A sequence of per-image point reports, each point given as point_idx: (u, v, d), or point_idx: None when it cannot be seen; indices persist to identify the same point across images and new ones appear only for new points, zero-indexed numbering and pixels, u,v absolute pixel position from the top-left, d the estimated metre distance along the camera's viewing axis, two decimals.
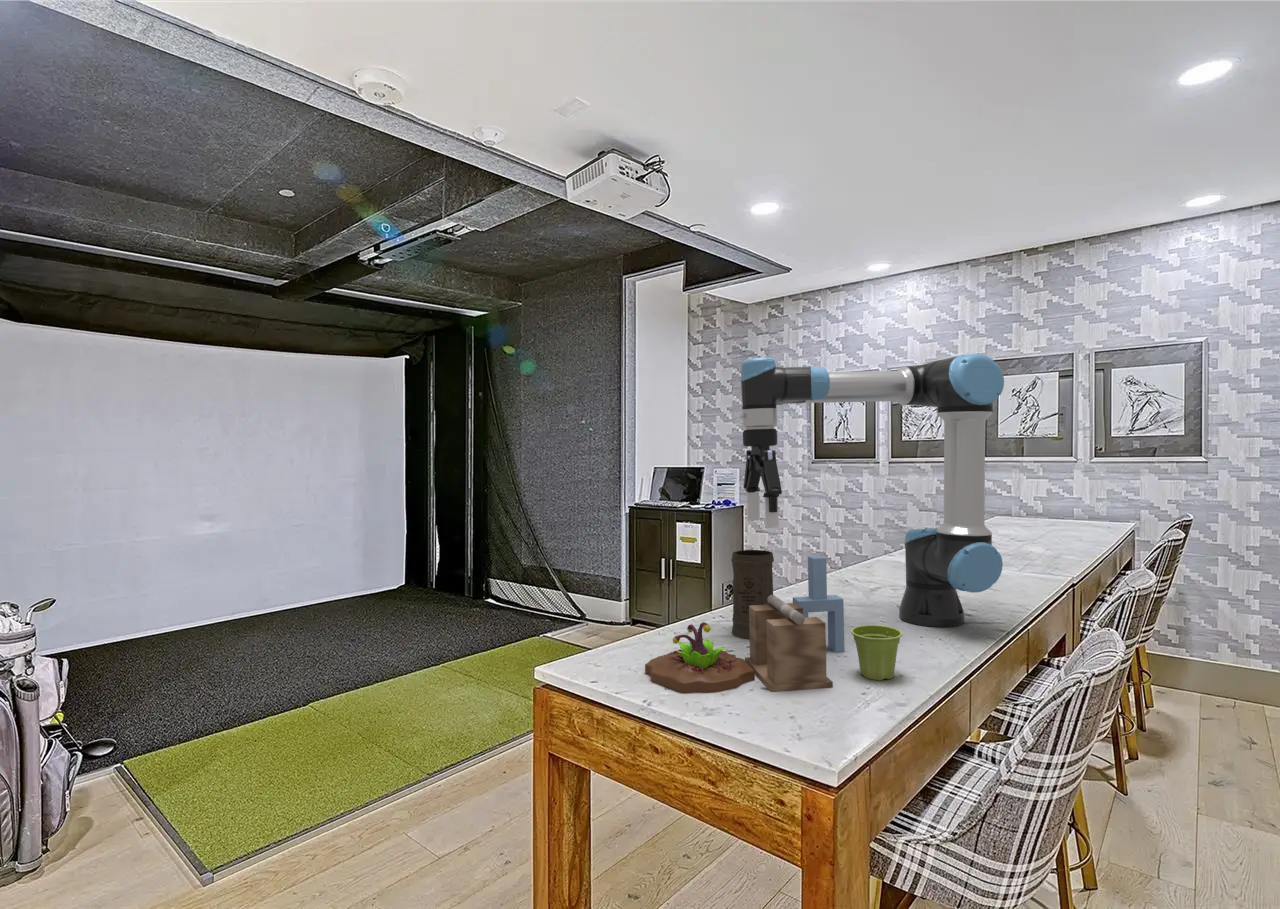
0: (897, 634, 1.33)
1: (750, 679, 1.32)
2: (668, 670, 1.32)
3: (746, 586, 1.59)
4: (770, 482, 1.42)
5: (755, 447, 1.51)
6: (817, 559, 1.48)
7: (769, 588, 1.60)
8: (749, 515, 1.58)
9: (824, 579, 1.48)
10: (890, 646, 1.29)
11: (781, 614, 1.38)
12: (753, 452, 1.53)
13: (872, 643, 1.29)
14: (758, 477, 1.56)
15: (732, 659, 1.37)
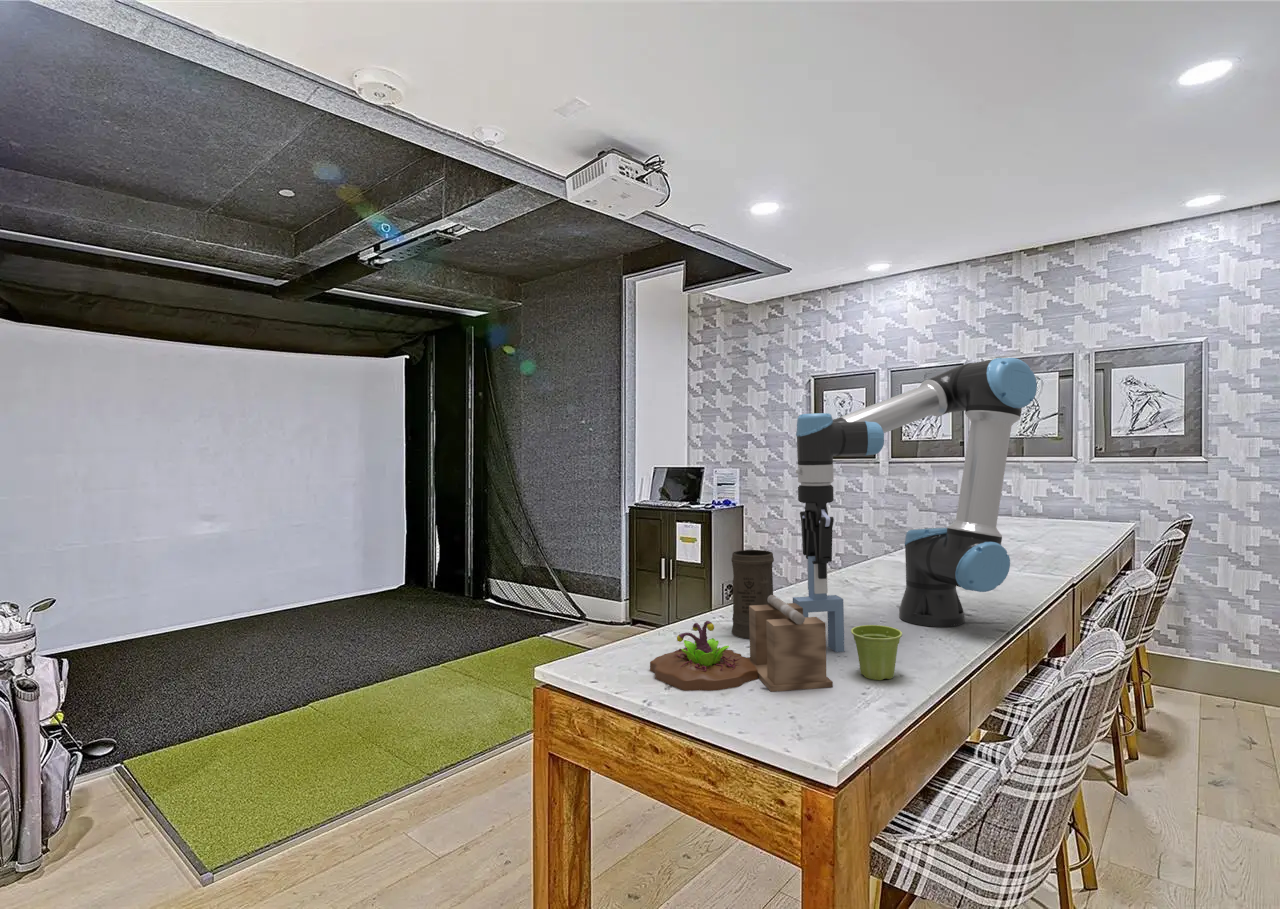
0: (897, 634, 1.33)
1: (753, 678, 1.32)
2: (672, 668, 1.34)
3: (746, 586, 1.59)
4: (822, 551, 1.44)
5: (811, 503, 1.49)
6: None
7: (769, 588, 1.60)
8: None
9: None
10: (890, 646, 1.29)
11: (781, 614, 1.38)
12: (808, 508, 1.50)
13: (872, 643, 1.29)
14: None
15: (736, 658, 1.38)
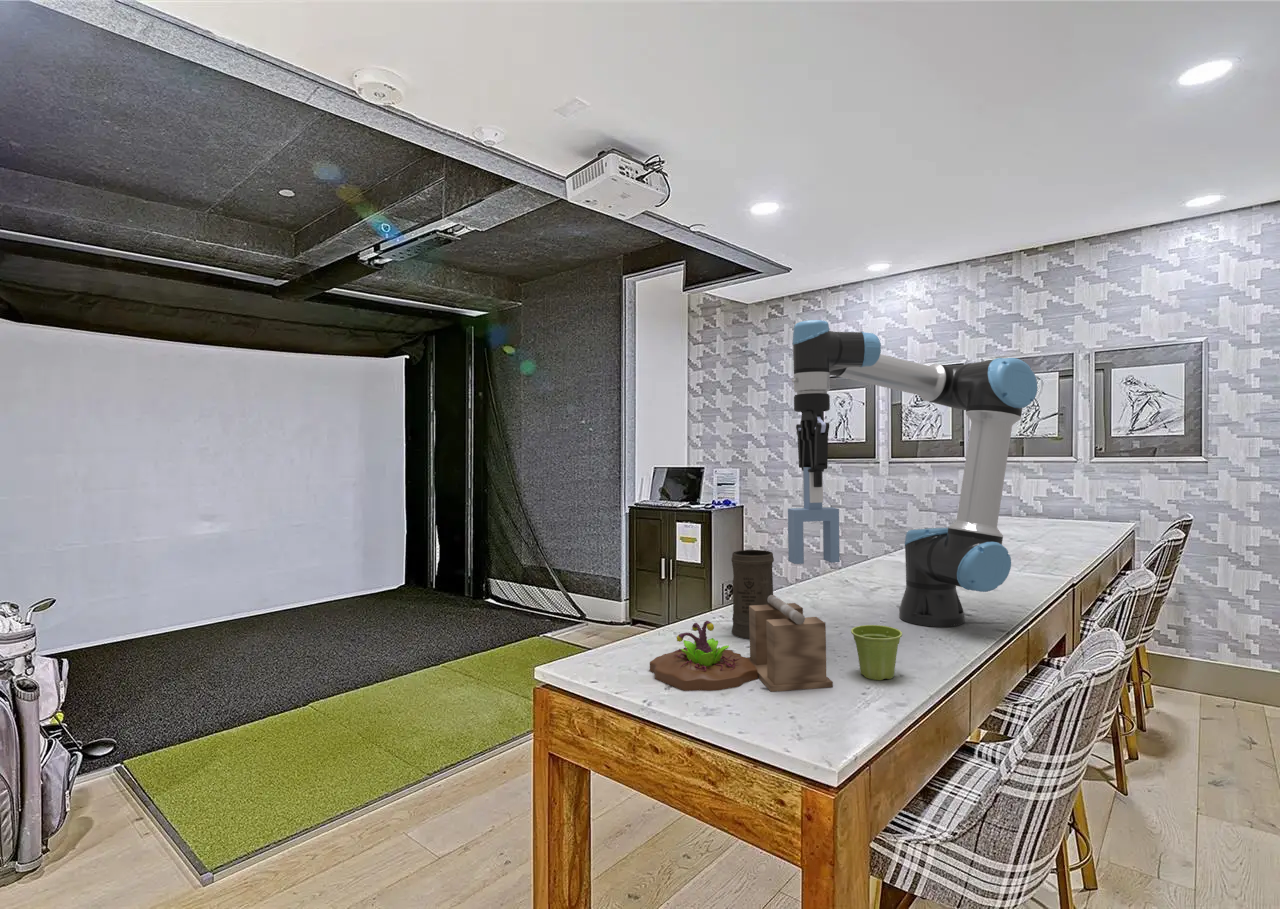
0: (897, 634, 1.33)
1: (753, 678, 1.32)
2: (671, 668, 1.34)
3: (746, 586, 1.59)
4: (817, 457, 1.42)
5: (807, 412, 1.47)
6: None
7: (769, 588, 1.60)
8: None
9: None
10: (890, 646, 1.29)
11: (781, 614, 1.38)
12: (804, 418, 1.49)
13: (872, 643, 1.29)
14: None
15: (736, 658, 1.38)
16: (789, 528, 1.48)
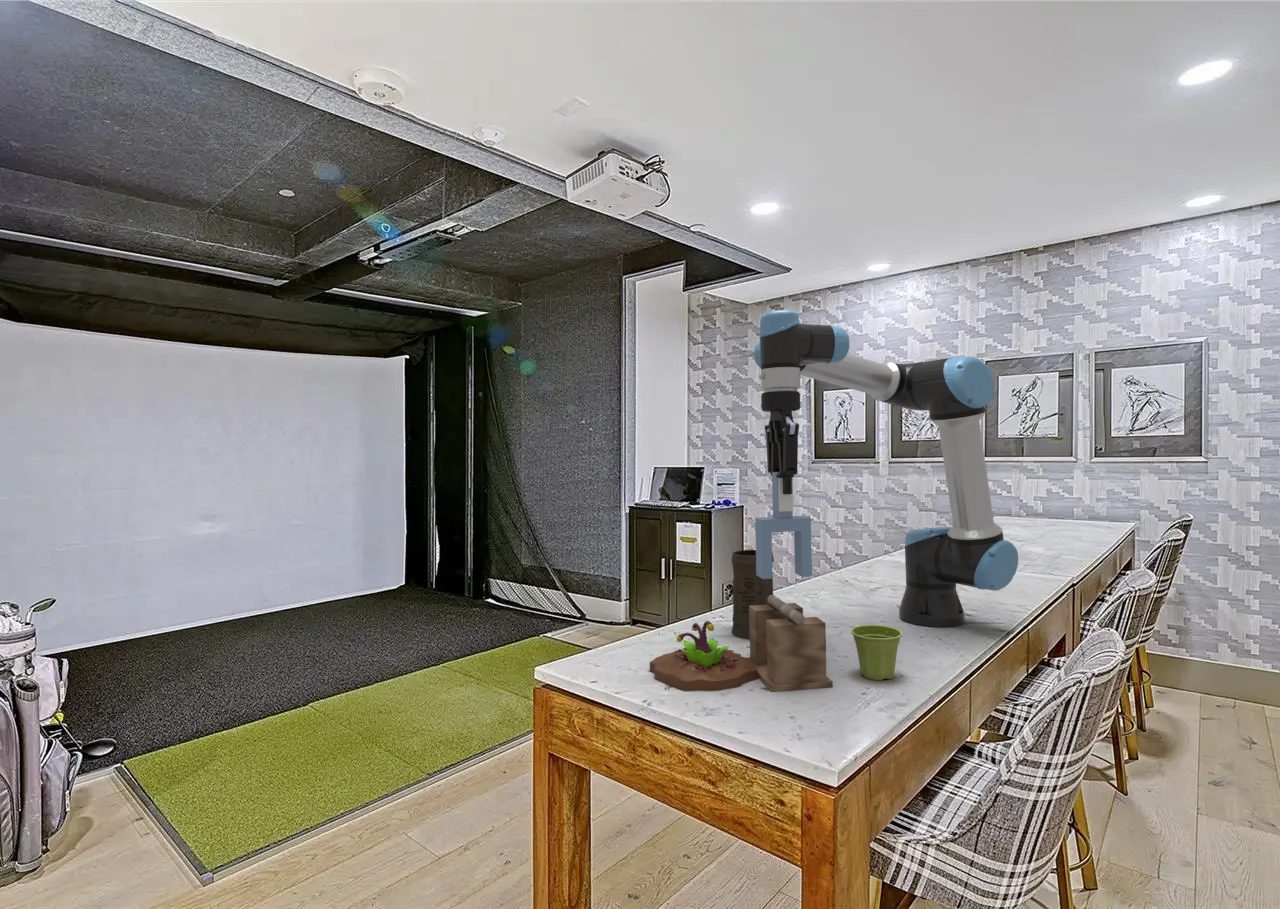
0: (897, 634, 1.33)
1: (753, 678, 1.32)
2: (672, 668, 1.33)
3: (746, 586, 1.59)
4: (786, 461, 1.29)
5: (775, 412, 1.34)
6: None
7: (769, 588, 1.60)
8: None
9: None
10: (890, 646, 1.29)
11: (781, 614, 1.38)
12: (772, 418, 1.36)
13: (872, 643, 1.29)
14: None
15: (736, 658, 1.38)
16: (757, 539, 1.35)
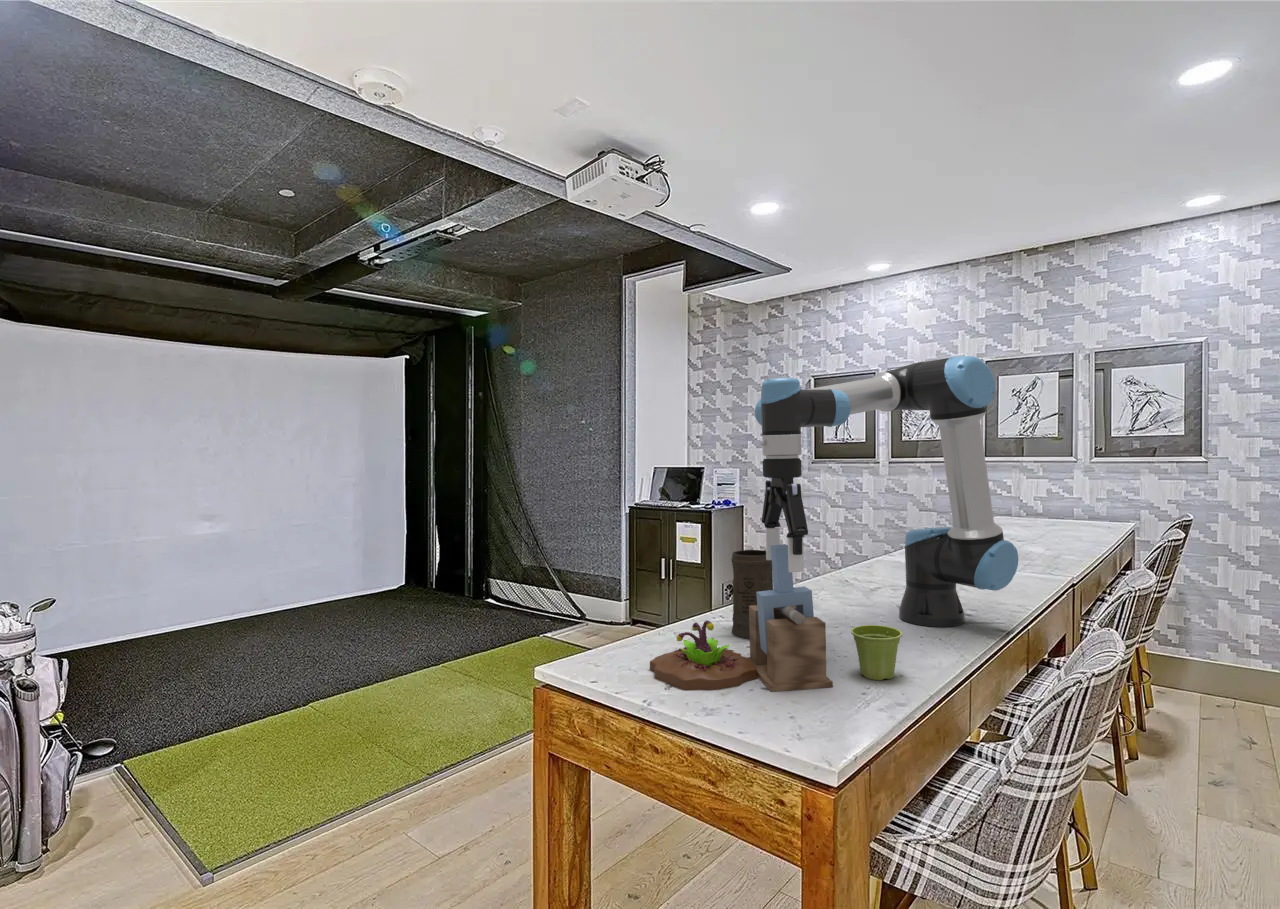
0: (897, 634, 1.33)
1: (753, 677, 1.33)
2: (671, 667, 1.34)
3: (746, 586, 1.59)
4: (795, 520, 1.25)
5: (776, 478, 1.34)
6: (780, 548, 1.33)
7: (769, 588, 1.60)
8: (768, 554, 1.41)
9: None
10: (890, 646, 1.29)
11: (781, 614, 1.38)
12: (774, 483, 1.36)
13: (872, 643, 1.29)
14: (779, 511, 1.39)
15: (736, 657, 1.38)
16: (759, 614, 1.35)
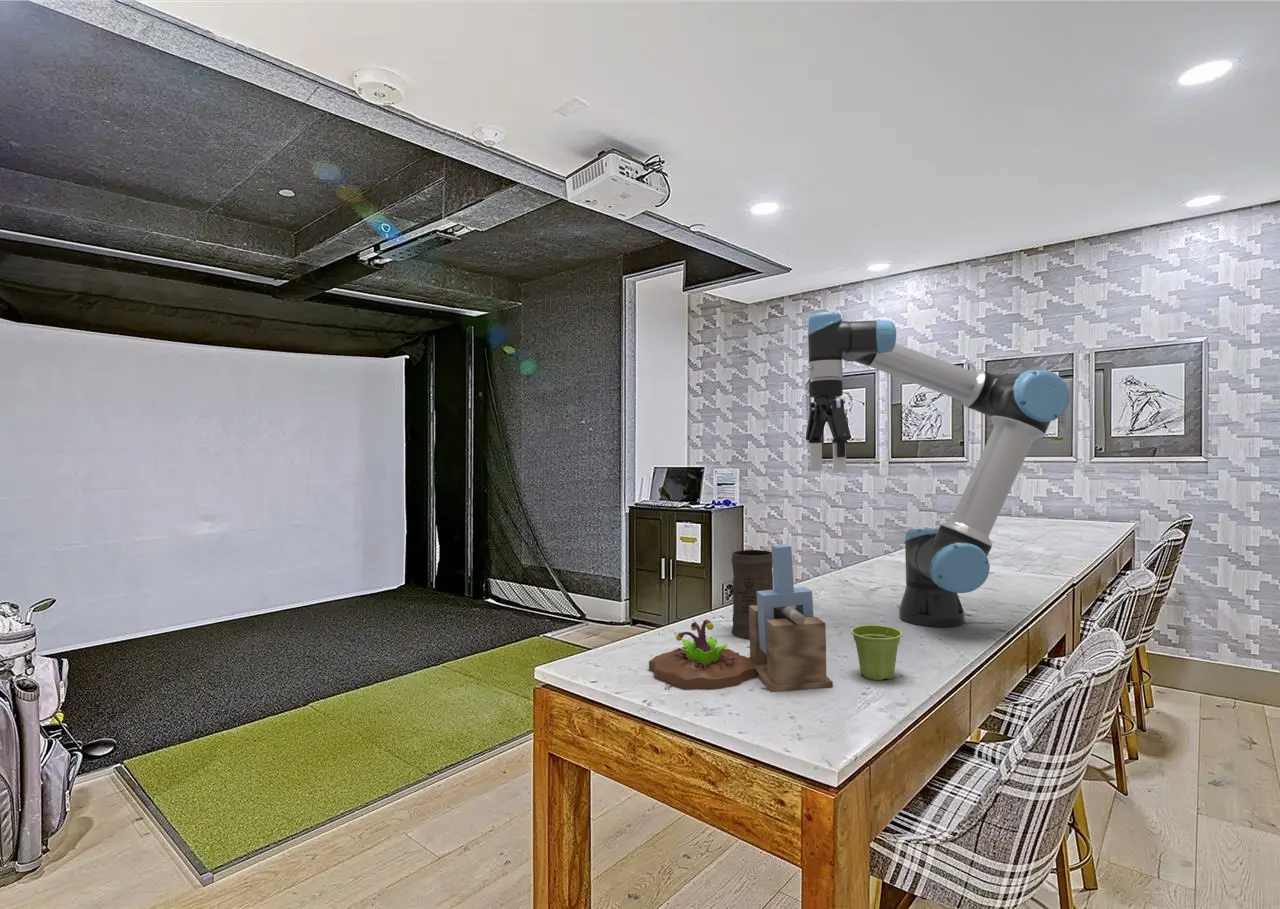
0: (897, 634, 1.33)
1: (752, 676, 1.33)
2: (671, 667, 1.34)
3: (746, 586, 1.59)
4: (839, 428, 1.50)
5: (821, 398, 1.59)
6: (781, 548, 1.33)
7: (769, 588, 1.60)
8: (812, 465, 1.66)
9: (790, 570, 1.33)
10: (890, 646, 1.29)
11: (781, 614, 1.38)
12: (818, 403, 1.61)
13: (872, 643, 1.29)
14: (822, 428, 1.64)
15: (735, 656, 1.39)
16: (759, 613, 1.35)
